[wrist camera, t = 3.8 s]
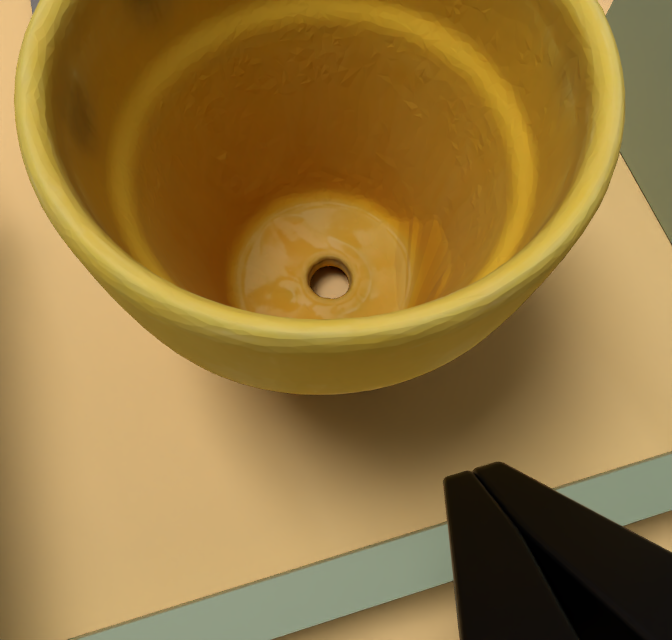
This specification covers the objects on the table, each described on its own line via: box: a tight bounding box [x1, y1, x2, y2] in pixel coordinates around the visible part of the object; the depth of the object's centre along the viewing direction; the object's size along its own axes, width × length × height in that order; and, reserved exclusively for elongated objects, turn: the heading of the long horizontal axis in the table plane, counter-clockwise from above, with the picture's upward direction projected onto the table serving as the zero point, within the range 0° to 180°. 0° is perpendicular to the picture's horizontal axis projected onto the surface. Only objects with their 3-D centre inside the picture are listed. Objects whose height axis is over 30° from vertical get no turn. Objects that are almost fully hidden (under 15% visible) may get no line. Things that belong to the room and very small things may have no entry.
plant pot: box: [14, 0, 625, 395], centre depth 14 cm, size 10×10×10 cm
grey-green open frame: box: [68, 0, 672, 640], centre depth 13 cm, size 15×25×12 cm, turn 106°
